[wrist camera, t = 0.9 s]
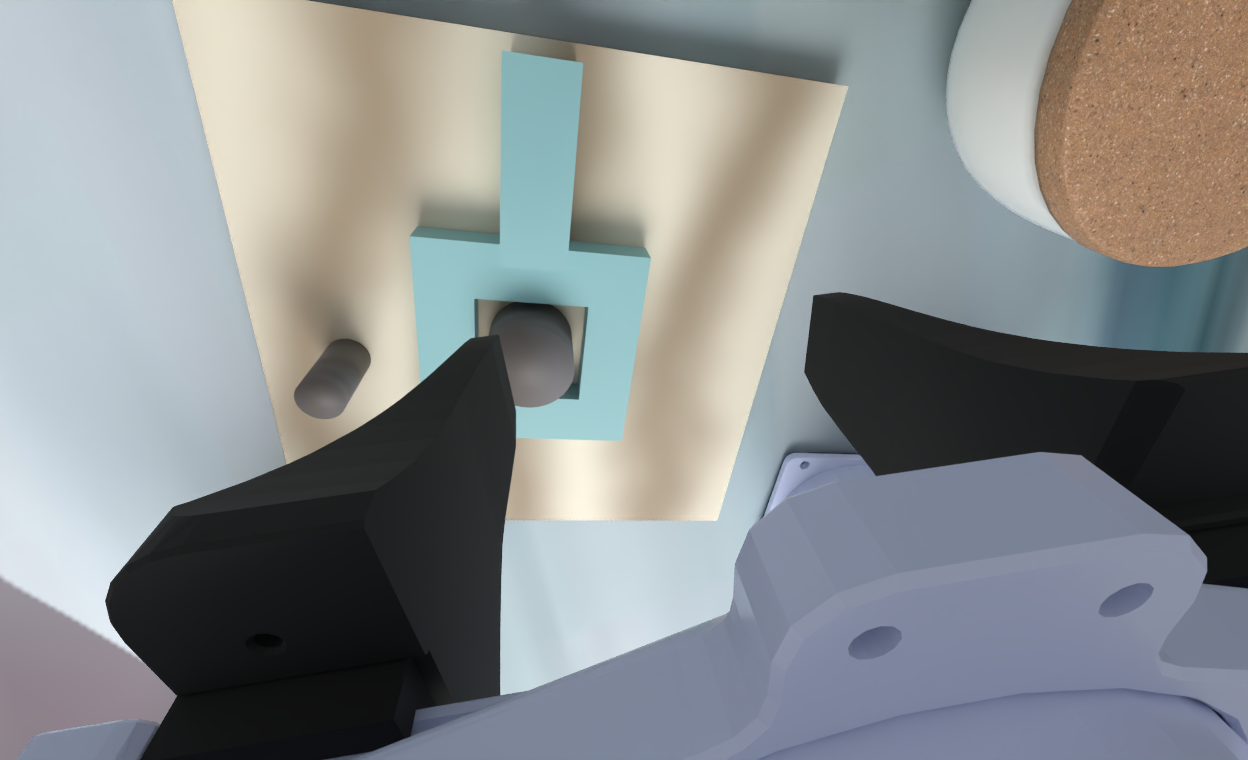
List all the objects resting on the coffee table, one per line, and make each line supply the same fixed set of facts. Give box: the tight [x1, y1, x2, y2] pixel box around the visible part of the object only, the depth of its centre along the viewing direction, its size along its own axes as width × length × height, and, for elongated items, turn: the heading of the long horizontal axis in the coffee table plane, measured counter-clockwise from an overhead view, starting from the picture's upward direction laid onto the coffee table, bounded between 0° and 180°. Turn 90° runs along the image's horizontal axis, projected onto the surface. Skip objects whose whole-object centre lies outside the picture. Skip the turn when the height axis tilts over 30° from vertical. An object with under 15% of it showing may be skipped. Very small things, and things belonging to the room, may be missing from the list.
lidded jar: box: [946, 0, 1248, 267], centre depth 15 cm, size 11×11×9 cm
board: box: [172, 0, 848, 521], centre depth 20 cm, size 20×20×4 cm
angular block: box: [409, 51, 651, 441], centre depth 18 cm, size 14×8×3 cm, turn 173°
